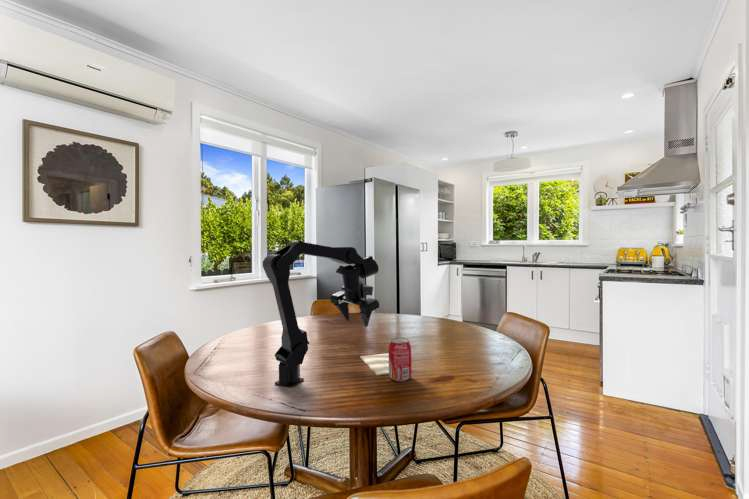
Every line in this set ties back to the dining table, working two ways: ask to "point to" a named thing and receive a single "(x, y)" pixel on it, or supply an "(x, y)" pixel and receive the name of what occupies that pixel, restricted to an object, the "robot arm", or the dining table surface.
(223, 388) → the dining table surface
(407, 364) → the soda can
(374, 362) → the board
